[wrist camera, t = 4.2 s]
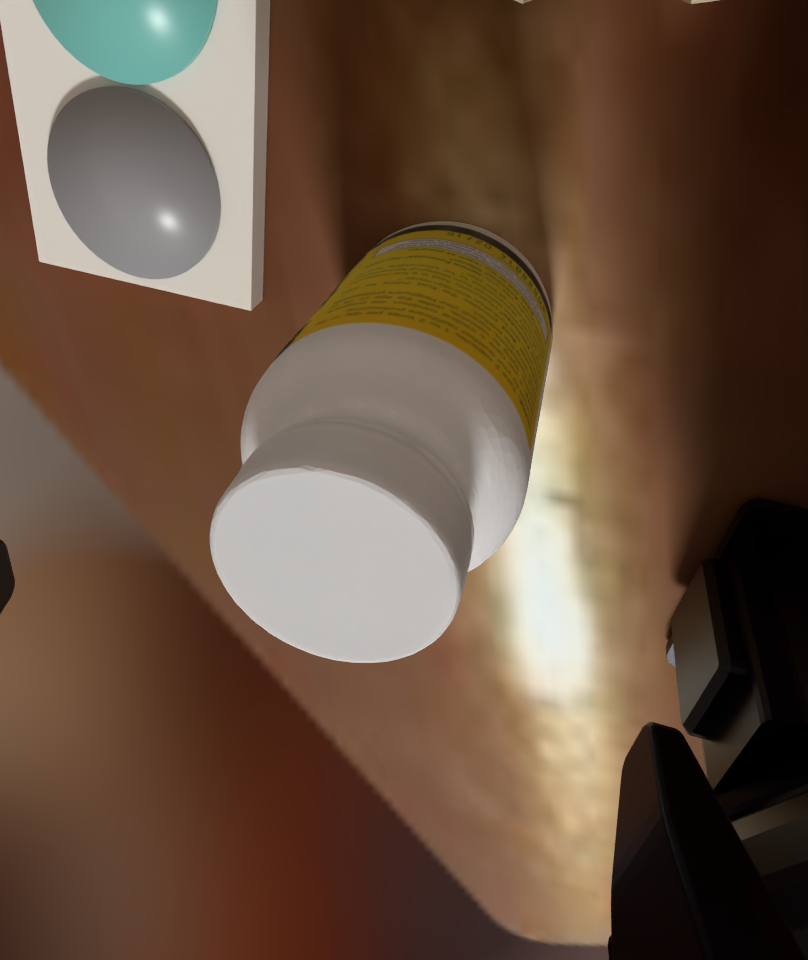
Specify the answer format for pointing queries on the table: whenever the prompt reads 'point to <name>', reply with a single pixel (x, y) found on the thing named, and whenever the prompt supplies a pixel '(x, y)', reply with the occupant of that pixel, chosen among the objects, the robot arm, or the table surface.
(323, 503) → the supplement bottle
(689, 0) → the beech block
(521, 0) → the beech block
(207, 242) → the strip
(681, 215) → the table surface
